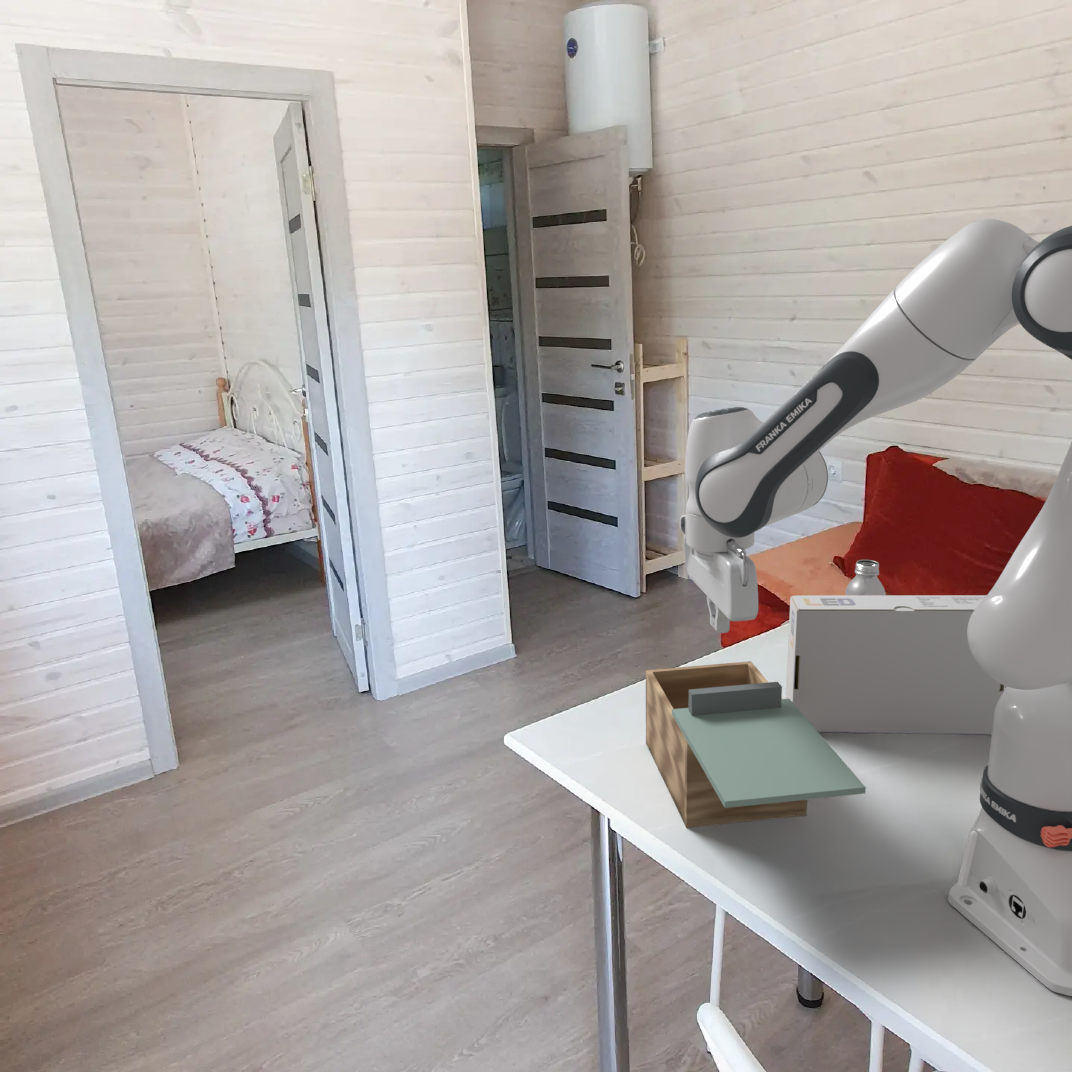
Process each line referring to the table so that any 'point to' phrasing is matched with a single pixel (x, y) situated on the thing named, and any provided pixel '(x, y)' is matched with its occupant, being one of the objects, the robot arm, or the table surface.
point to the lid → (761, 747)
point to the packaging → (888, 664)
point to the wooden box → (677, 756)
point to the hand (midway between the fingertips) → (719, 629)
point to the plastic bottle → (865, 579)
